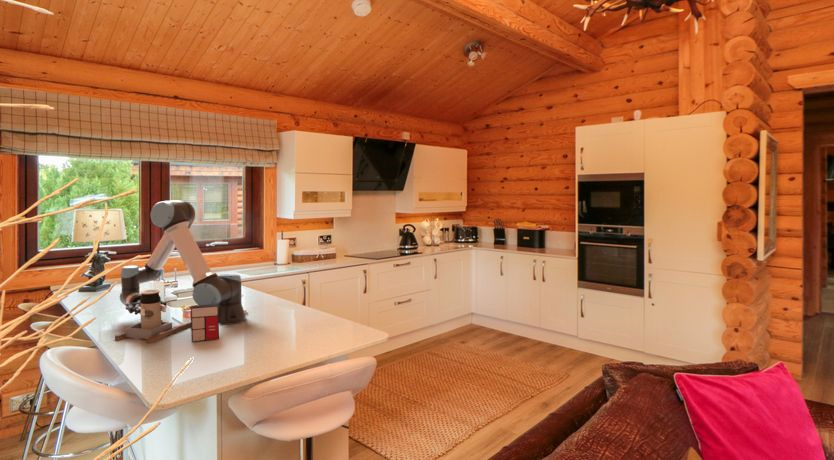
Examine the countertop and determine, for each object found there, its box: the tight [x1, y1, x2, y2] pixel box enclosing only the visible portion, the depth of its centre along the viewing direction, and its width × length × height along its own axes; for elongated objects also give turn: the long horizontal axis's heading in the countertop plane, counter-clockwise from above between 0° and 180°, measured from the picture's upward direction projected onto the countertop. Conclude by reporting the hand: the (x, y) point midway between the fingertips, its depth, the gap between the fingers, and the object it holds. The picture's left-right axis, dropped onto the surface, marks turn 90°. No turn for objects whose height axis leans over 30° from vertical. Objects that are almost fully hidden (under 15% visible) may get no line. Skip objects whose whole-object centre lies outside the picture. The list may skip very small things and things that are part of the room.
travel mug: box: [140, 289, 162, 329], centre depth 221 cm, size 8×8×18 cm
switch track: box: [114, 319, 191, 344], centre depth 223 cm, size 18×26×2 cm
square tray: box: [124, 320, 173, 340], centre depth 220 cm, size 13×13×4 cm
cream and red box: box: [190, 304, 220, 343], centre depth 214 cm, size 11×4×15 cm, turn 114°
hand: (154, 310), depth 217 cm, fingers closed on travel mug, 8 cm apart
